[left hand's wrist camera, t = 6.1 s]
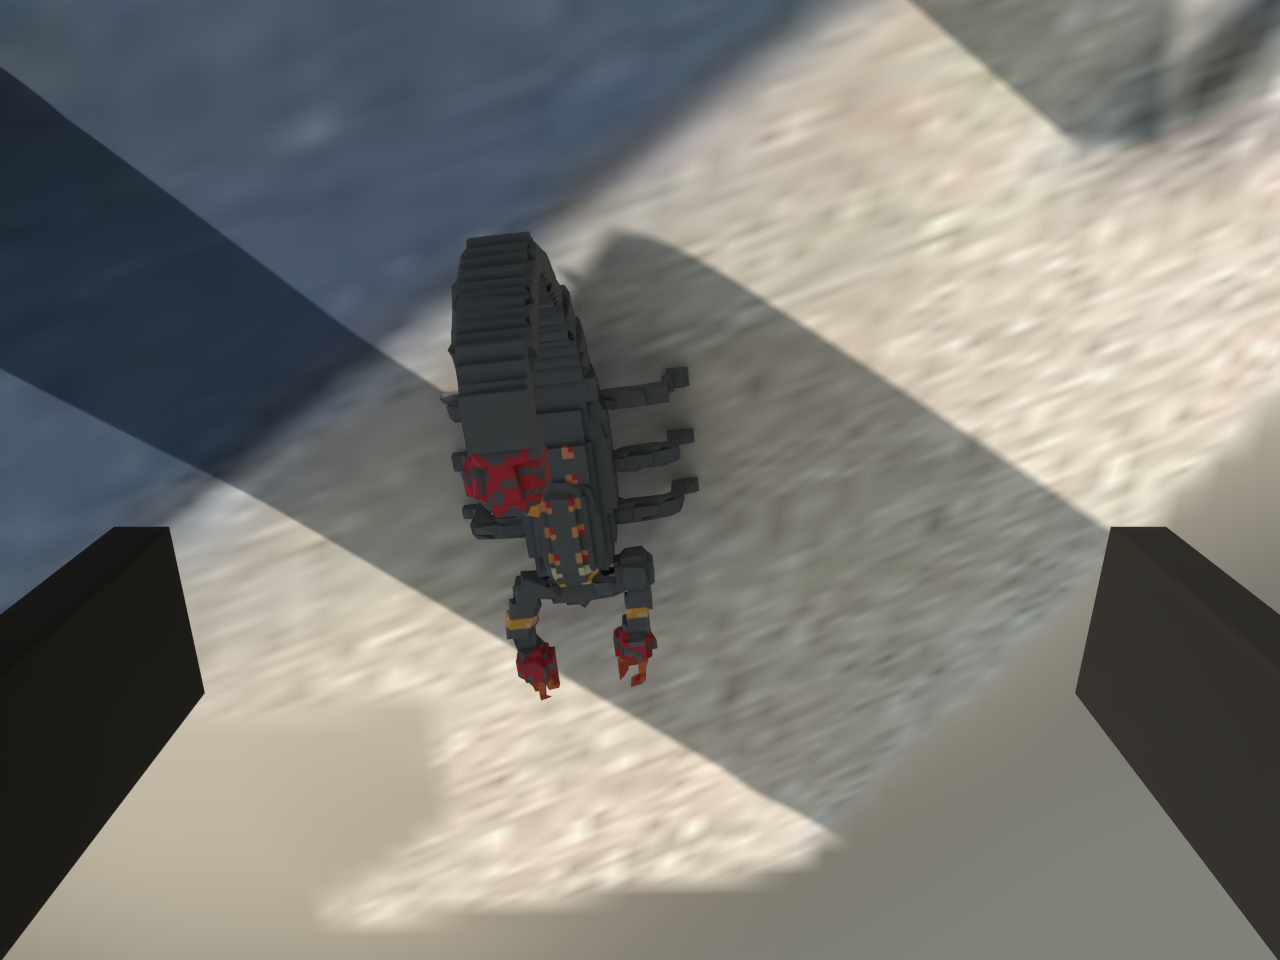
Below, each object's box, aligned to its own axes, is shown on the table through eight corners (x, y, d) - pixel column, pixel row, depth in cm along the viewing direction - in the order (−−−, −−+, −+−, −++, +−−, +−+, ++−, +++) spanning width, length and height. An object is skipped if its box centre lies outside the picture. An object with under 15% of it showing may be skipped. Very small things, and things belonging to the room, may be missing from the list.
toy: (671, 191, 45) (690, 235, 28) (713, 648, 55) (746, 886, 38) (407, 221, 45) (267, 282, 28) (496, 668, 55) (432, 912, 38)
